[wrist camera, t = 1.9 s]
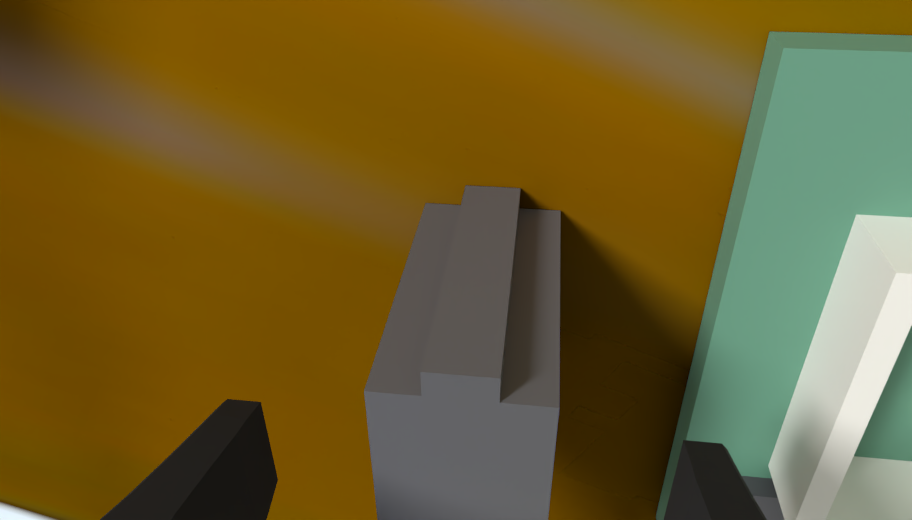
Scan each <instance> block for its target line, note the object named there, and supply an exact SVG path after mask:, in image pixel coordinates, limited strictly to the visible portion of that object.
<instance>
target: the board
mask: <svg viewBox="0 0 912 520" xmlns="http://www.w3.org/2000/svg"><path fill="white" fill-rule="evenodd" d="M683 440H689V441H700V442H711V443H722V444H723V445H724V446H725V447H726V448H727V450H728V452H729V454H730V456H731V457H732V459H733V461H734V463H735V465H736V467H737V469H738V470H739V472H740V474H741V476H742V478H743V479H744V481H745V483H746V485H747V487H748V488H749V490H750V492H751V494H752V495H753V497H754V499H755V501H756V502H757V504H758V506H759V507H760V509H761V511H762V512H763V514H764V516H765V517H766V519H767V520H912V36H907V35H872V34H837V33H802V32H769V36H768V40H767V44H766V49H765V53H764V57H763V61H762V66H761V70H760V74H759V78H758V83H757V87H756V91H755V96H754V100H753V104H752V108H751V113H750V117H749V121H748V125H747V130H746V134H745V138H744V142H743V147H742V151H741V155H740V159H739V164H738V168H737V172H736V176H735V181H734V185H733V189H732V194H731V198H730V202H729V206H728V211H727V215H726V219H725V223H724V228H723V232H722V236H721V240H720V245H719V249H718V253H717V257H716V262H715V266H714V270H713V274H712V279H711V283H710V287H709V292H708V296H707V300H706V304H705V309H704V313H703V317H702V321H701V326H700V330H699V334H698V338H697V343H696V347H695V351H694V355H693V360H692V364H691V368H690V372H689V377H688V381H687V385H686V390H685V394H684V398H683V402H682V407H681V411H680V415H679V419H678V424H677V428H676V432H675V436H674V441H673V445H672V449H671V453H670V458H669V462H668V466H667V470H666V475H665V479H664V483H663V487H662V492H661V496H660V500H659V505H658V509H657V513H656V520H664V516H665V512H666V508H667V504H668V500H669V496H670V492H671V488H672V484H673V480H674V476H675V472H676V468H677V464H678V460H679V456H680V452H681V448H682V444H683Z"/></svg>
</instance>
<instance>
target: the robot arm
mask: <svg viewBox="0 0 912 520" xmlns="http://www.w3.org/2000/svg"><path fill="white" fill-rule="evenodd" d="M277 480H278V479H277V474H276V470H275V465H274V461H273V456H272V452H271V447H270V442H269V438H268V433H267V429H266V424H265V420H264V415H263V411H262V406H261V402H253V401H242V400H231V399H227V400H226V401H225V402H223V403H222V404H221V405H220V406H219V407H218V408H217V409H216V410H215V411H214V412H213V413H212V414H211V415H210V416H209V417H208V418H207V419H206V420H205V421H204V422H203V423H202V424H201V425H200V426H199V427H198V428H197V429H196V430H195V431H194V432H193V433H192V434H191V435H190V436H189V437H188V438H187V439H186V440H185V441H184V442H183V443H182V444H181V445H180V446H179V447H178V448H177V449H176V450H175V451H174V452H173V453H172V454H171V455H170V456H169V457H168V458H167V459H165V460H164V461H163V462H162V463H161V464H160V465H159V466H158V467H157V468H156V469H155V470H154V471H153V472H152V473H151V474H150V475H149V476H148V477H146V478H145V479H144V480H143V481H142V482H141V483H140V484H139V485H138V486H137V487H136V488H135V489H134V490H133V491H132V492H131V493H130V494H128V495H127V496H126V497H125V498H124V499H123V500H122V501H121V502H120V503H118V504H117V505H116V506H115V507H114V508H113V509H112V510H110V511H109V512H108V513H107V514H106V515H105V516H104V517H102V518H101V519H100V520H266V518H267V515H268V512H269V509H270V505H271V502H272V498H273V495H274V491H275V488H276V484H277ZM664 520H767V519H766V517H765V516H764V514H763V512H762V511H761V509H760V507H759V506H758V504H757V502H756V501H755V499H754V497H753V495H752V494H751V492H750V490H749V488H748V487H747V485H746V483H745V481H744V479H743V478H742V476H741V474H740V472H739V470H738V469H737V467H736V465H735V463H734V461H733V459H732V457H731V456H730V454H729V452H728V450H727V448H726V447H725V446H724V445H723V444H722V443H711V442H700V441H689V440H683V444H682V448H681V452H680V456H679V460H678V464H677V468H676V472H675V476H674V480H673V484H672V488H671V492H670V496H669V500H668V504H667V508H666V512H665V516H664Z"/></svg>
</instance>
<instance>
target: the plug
mask: <svg viewBox="0 0 912 520" xmlns="http://www.w3.org/2000/svg"><path fill="white" fill-rule="evenodd" d="M520 190H521V188H505V187H486V186H467V185H466V186H465V190H464V194H463V198H462V203H461V205H450V204H432V203H426V204H425V207H424V210H423V213H422V216H421V219H420V222H419V225H418V228H417V231H416V234H415V237H414V241H413V244H412V247H411V250H410V253H409V256H408V259H407V262H406V265H405V268H404V271H403V274H402V277H401V280H400V283H399V286H398V289H397V292H396V295H395V298H394V302H393V305H392V308H391V311H390V314H389V317H388V320H387V323H386V326H385V329H384V332H383V335H382V338H381V341H380V344H379V347H378V350H377V353H376V356H375V360H374V363H373V366H372V369H371V372H370V375H369V378H368V381H367V384H366V387H365V390H364V395H365V405H366V414H367V423H368V433H369V442H370V452H371V461H372V470H373V480H374V489H375V499H376V508H377V517H378V520H548V514H549V504H550V495H551V485H552V475H553V466H554V456H555V446H556V437H557V427H558V417H559V402H560V235H561V211H557V210H539V209H521V208H520Z"/></svg>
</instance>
